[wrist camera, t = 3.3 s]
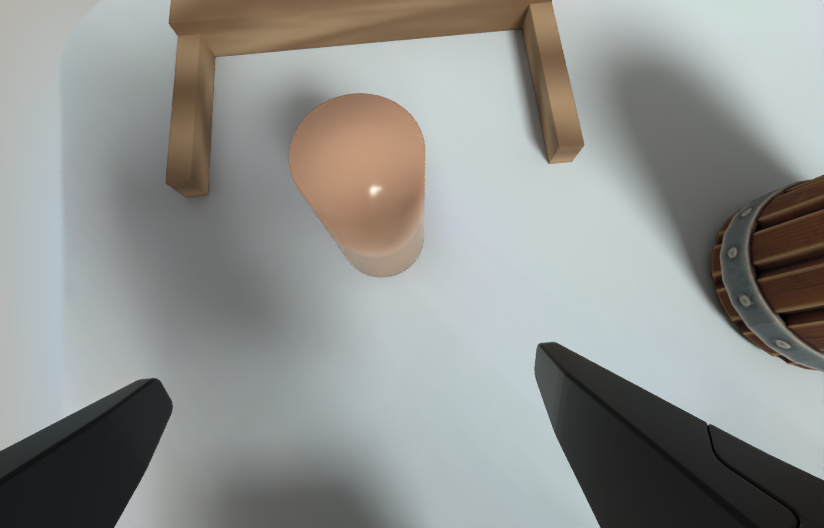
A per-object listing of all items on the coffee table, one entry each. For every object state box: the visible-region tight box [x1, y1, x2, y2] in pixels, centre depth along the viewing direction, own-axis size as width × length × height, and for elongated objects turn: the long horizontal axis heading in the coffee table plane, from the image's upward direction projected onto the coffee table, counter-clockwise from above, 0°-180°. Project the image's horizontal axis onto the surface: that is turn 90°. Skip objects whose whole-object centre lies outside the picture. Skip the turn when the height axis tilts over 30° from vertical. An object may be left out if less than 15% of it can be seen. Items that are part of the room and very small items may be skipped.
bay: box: [166, 0, 584, 197], centre depth 26 cm, size 13×26×3 cm, turn 95°
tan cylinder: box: [289, 93, 425, 277], centre depth 19 cm, size 5×5×10 cm
